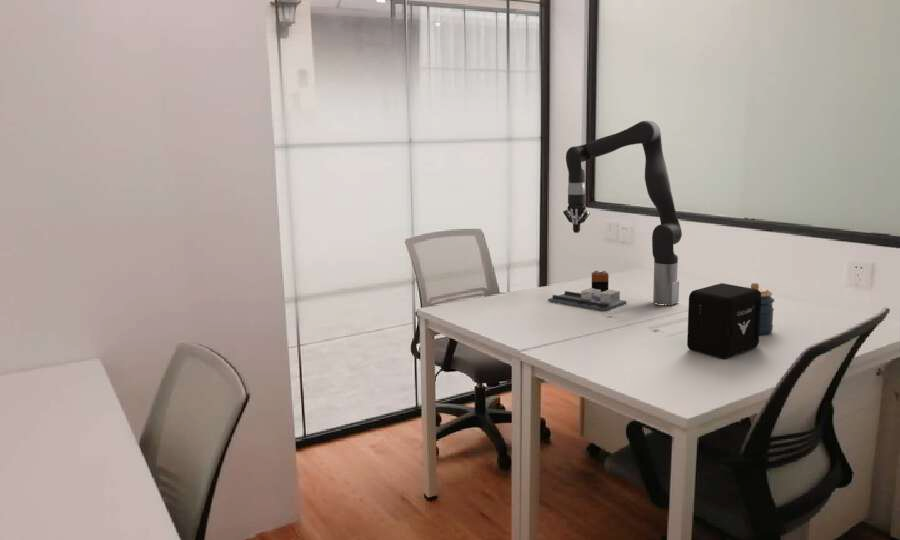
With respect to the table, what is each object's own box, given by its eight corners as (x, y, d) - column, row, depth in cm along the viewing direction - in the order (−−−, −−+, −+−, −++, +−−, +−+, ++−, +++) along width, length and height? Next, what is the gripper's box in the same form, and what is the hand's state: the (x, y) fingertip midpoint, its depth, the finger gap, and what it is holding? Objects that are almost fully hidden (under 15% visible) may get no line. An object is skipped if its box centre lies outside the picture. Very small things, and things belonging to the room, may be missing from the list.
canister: (769, 338, 248) (772, 288, 244) (729, 333, 254) (731, 284, 251) (774, 328, 258) (777, 280, 255) (736, 324, 265) (738, 277, 262)
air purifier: (725, 361, 226) (728, 299, 222) (686, 350, 237) (688, 291, 233) (762, 348, 237) (765, 289, 233) (722, 338, 249) (725, 282, 245)
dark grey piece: (626, 303, 300) (626, 289, 298) (605, 311, 288) (605, 296, 287) (569, 294, 319) (569, 280, 317) (548, 301, 307) (548, 287, 306)
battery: (591, 292, 322) (591, 270, 320) (606, 291, 322) (606, 269, 320) (592, 294, 318) (593, 272, 316) (608, 294, 317) (608, 271, 315)
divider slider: (600, 299, 302) (600, 289, 302) (587, 303, 295) (587, 294, 295) (590, 297, 306) (590, 288, 305) (577, 302, 299) (577, 292, 298)
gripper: (594, 192, 311) (594, 232, 315) (568, 191, 320) (568, 230, 324) (584, 194, 306) (584, 234, 310) (558, 193, 315) (559, 232, 319)
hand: (576, 232), depth 317 cm, fingers closed
